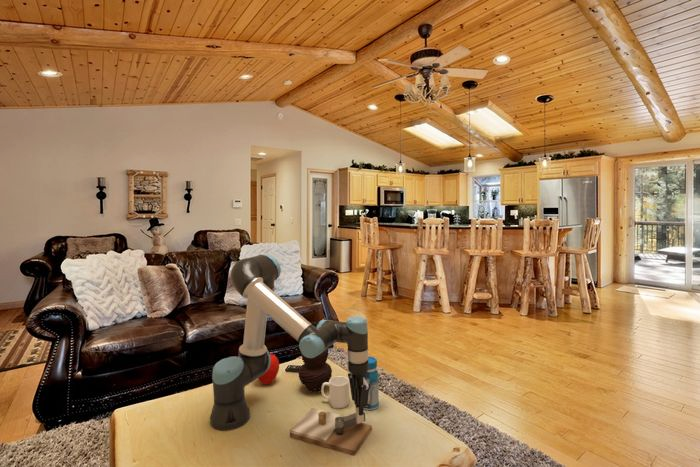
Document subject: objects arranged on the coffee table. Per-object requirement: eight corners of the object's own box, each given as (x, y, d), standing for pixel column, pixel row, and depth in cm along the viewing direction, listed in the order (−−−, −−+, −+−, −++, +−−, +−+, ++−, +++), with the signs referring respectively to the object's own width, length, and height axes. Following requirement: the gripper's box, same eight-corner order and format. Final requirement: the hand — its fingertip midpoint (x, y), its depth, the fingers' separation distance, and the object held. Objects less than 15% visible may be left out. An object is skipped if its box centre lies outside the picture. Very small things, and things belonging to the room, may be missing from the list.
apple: (272, 374, 190) (271, 348, 188) (284, 382, 181) (283, 355, 179) (250, 381, 182) (249, 354, 181) (261, 391, 173) (260, 362, 172)
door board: (289, 436, 140) (289, 419, 139) (311, 413, 154) (311, 398, 153) (354, 455, 129) (354, 437, 128) (371, 429, 143) (371, 412, 143)
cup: (346, 409, 157) (346, 386, 156) (318, 407, 159) (318, 383, 158) (350, 399, 165) (350, 376, 164) (324, 396, 167) (323, 374, 166)
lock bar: (338, 436, 136) (337, 422, 136) (333, 431, 139) (333, 418, 139) (366, 425, 143) (365, 412, 142) (361, 421, 146) (361, 408, 145)
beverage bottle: (380, 410, 156) (379, 363, 154) (359, 411, 155) (358, 364, 154) (378, 399, 164) (378, 355, 162) (358, 400, 164) (358, 355, 162)
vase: (296, 383, 180) (294, 321, 177) (327, 378, 184) (326, 317, 182) (301, 399, 165) (299, 332, 162) (336, 393, 170) (334, 328, 167)
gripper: (376, 363, 135) (377, 427, 137) (358, 352, 147) (360, 411, 148) (358, 368, 132) (359, 433, 134) (341, 356, 143) (342, 416, 145)
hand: (359, 421), depth 141 cm, fingers closed
